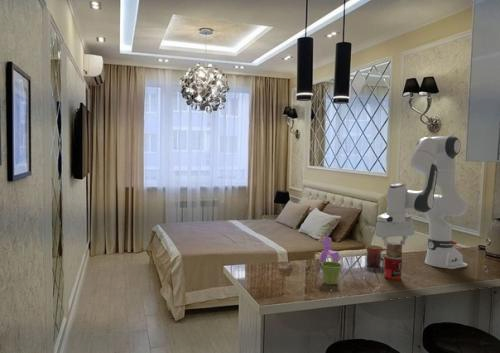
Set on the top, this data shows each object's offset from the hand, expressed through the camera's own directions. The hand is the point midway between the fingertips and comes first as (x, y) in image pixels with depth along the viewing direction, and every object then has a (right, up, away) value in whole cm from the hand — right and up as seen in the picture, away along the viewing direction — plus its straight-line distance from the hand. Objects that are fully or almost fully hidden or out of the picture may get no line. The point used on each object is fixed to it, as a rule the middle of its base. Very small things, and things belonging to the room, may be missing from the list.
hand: (394, 245), depth 190 cm
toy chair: (-28, -15, +20) cm, 37 cm away
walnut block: (0, -5, 0) cm, 5 cm away
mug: (-2, -15, +21) cm, 26 cm away
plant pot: (-33, -16, -10) cm, 38 cm away
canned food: (-1, -16, +1) cm, 16 cm away
